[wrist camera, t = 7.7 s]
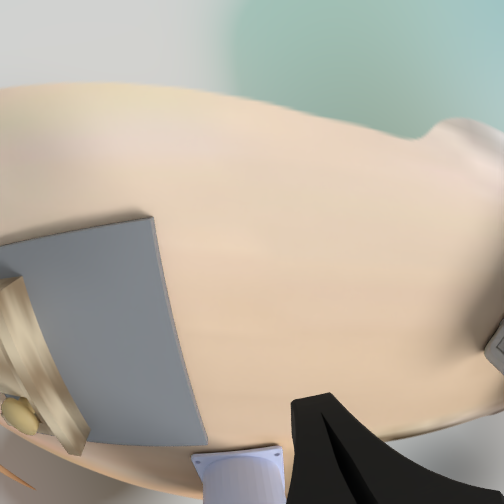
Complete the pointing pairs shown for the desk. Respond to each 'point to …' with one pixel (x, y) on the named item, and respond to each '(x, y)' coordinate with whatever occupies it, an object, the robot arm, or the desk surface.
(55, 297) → the keyhole board
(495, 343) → the digital clock
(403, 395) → the desk surface
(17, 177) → the desk surface
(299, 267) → the desk surface
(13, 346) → the panel
